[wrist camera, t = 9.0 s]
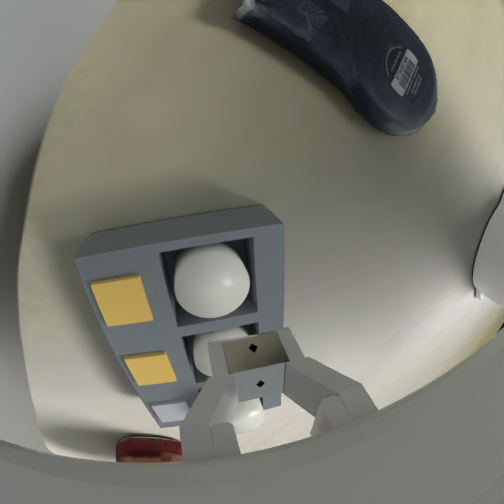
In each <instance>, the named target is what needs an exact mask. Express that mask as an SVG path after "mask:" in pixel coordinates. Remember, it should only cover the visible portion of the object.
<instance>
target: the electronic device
mask: <svg viewBox="0 0 504 504" xmlns="http://www.w3.org/2000/svg"><path fill="white" fill-rule="evenodd" d="M231 19H235V20H237V21H240V22H242V23H244V24H246V25H248V26H250V27H251V28H253V29H255V30H257V31H258V32H260V33H262V34H263V35H265V36H266V37H268V38H269V39H271V40H272V41H274V42H276V43H277V44H279V45H280V46H282V47H283V48H285V49H287V50H288V51H290V52H291V53H293V54H294V55H296V56H297V57H298V58H299V59H301V60H302V61H303V62H305V63H306V64H308V65H309V66H311V67H312V68H313V69H315V70H316V71H317V72H318V73H319V74H320V75H322V76H323V77H325V78H326V79H327V80H329V81H330V82H331V83H332V84H334V85H335V86H336V87H337V88H339V89H340V90H341V91H342V92H343V93H344V94H345V95H346V96H347V98H348V99H349V101H350V102H351V103H352V105H353V106H354V108H355V109H356V111H357V112H358V113H359V114H361V115H362V116H363V117H364V119H365V120H366V121H368V122H369V123H370V124H371V125H373V126H374V127H376V128H377V129H379V130H380V131H381V132H385V133H386V134H389V135H392V136H404V135H411V134H413V133H415V132H416V133H417V132H418V130H420V129H421V128H422V127H423V126H424V124H425V123H426V122H427V121H428V120H429V119H430V118H431V116H432V115H433V114H434V113H435V110H436V105H437V100H438V99H437V79H436V73H435V69H434V66H433V62H432V59H431V57H430V55H429V53H428V51H427V49H426V48H425V46H424V44H423V43H422V42H421V40H420V39H419V37H418V36H417V35H416V34H415V32H414V31H413V30H412V29H411V28H410V27H409V26H408V24H407V23H406V22H405V21H404V20H403V19H402V18H401V17H400V16H399V15H398V14H397V13H396V12H395V11H394V10H393V9H392V8H391V7H390V6H388V5H387V4H386V3H385V2H384V1H382V0H243V5H242V6H241V7H240V8H238V9H237V10H236V13H235V15H234V18H231Z"/></svg>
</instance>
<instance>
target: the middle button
mask: <svg viewBox="0 0 504 504" xmlns="http://www.w3.org/2000/svg"><path fill="white" fill-rule="evenodd" d="M244 336H249V334H248V331H247V329H246V326H245V325H242V326H238V327H233V328H228V329H222V330H217V331H212V332H206V333H201V334H195V335H191V340H192V348H193V355H194V362H195V365H196V367H197V369H198V370H199V371H200V372H201V373H203V374H205V375H207V376H211V377H212V371H211V365H210V359H209V353H208V347H207V342H212V341H219V340H221V342H222V340H224V339H231V338H238V337H244Z"/></svg>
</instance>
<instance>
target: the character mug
mask: <svg viewBox="0 0 504 504" xmlns="http://www.w3.org/2000/svg"><path fill="white" fill-rule="evenodd" d="M116 462H124V463H167V462H183V456H182V448H181V442H179V441H176V440H171V439H165V438H159V437H127V438H124V439H122V440H120V441H119V442H118V443H117V445H116Z"/></svg>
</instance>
